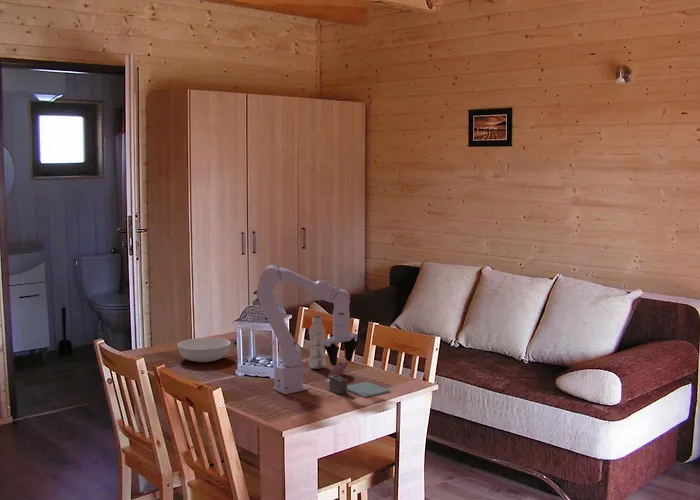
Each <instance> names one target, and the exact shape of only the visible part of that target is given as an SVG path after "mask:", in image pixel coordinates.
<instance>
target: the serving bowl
mask: <svg viewBox="0 0 700 500" xmlns="http://www.w3.org/2000/svg"><path fill="white" fill-rule="evenodd" d="M231 346H232V342H231V341H230V340H228V339H227V338H226V339H225V338H219V337H199V338H198V337H197V338H196V337H195V338H190V339H185V340H182V341H179V342H178V343H177V349H178V352H179V354H180V356H181V357H182V358H183V359H185V360H188V361H191V362H195V363H200V364H201V363H212V362H215V361H218V360H222V359H223V358H224V357H226V356H227V355H228V353H229V352H230V350H231Z"/></svg>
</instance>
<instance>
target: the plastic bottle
mask: <svg viewBox="0 0 700 500" xmlns="http://www.w3.org/2000/svg"><path fill="white" fill-rule="evenodd" d="M322 322H323V317H322V316H321V315H316V316H315V315H314V316H312V320H311V323H312V324H311V325H310V326H309V329H308V336H309V341H310V342H309V345H310V350H309V357H308V358H309V359H308V365H309V367H310V368H311V369H314V370H319V369H323V368H325V367H326V356H325V348H324V344H325V340H326V339H325V338H326V332H327V331H326V327H325V326H324V324H323V323H322Z"/></svg>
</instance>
